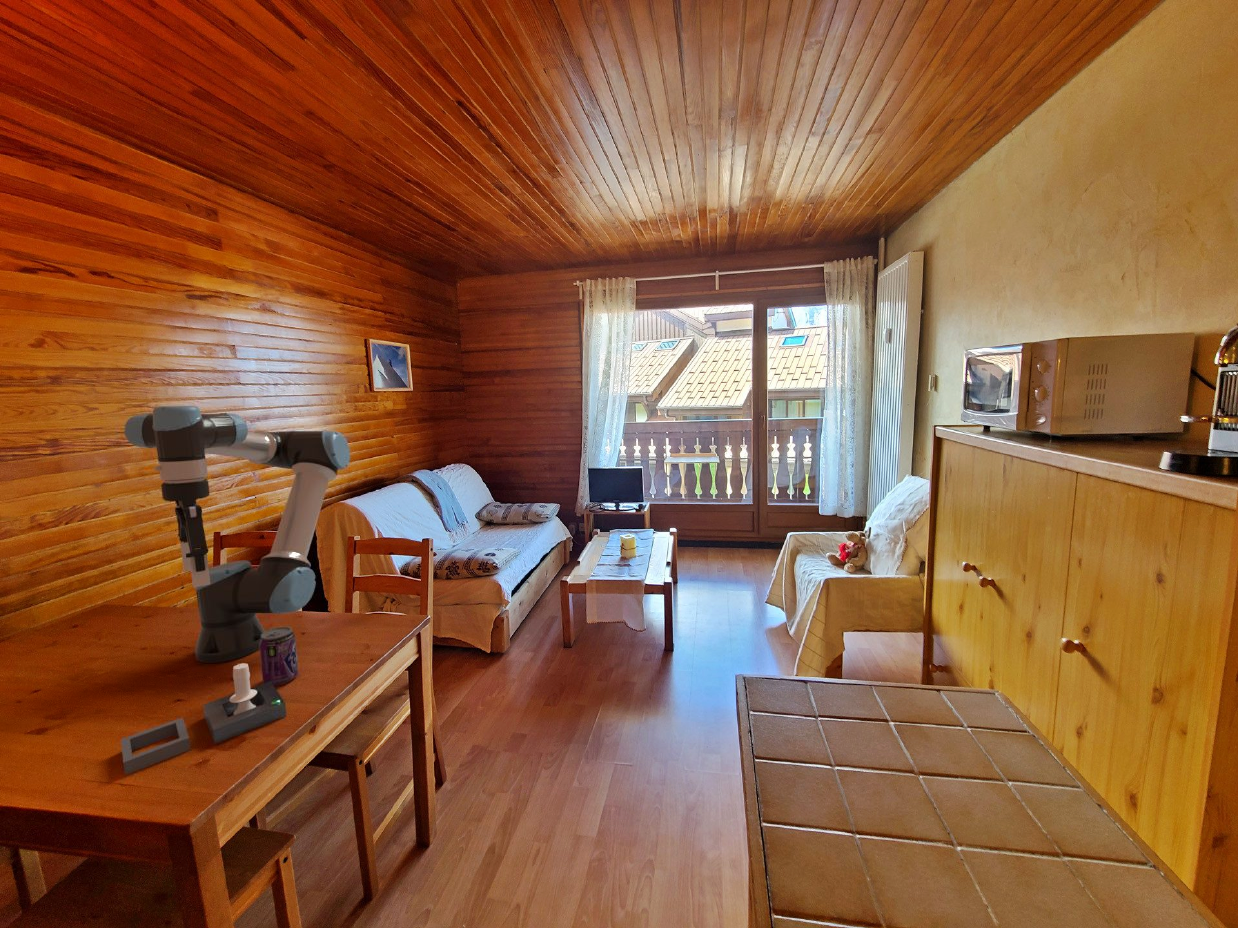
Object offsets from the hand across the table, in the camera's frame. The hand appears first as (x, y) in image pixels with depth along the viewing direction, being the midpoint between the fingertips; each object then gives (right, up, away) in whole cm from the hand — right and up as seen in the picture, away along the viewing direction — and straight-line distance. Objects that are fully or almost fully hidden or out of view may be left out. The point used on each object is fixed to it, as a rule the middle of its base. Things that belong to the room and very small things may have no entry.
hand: (196, 577), depth 108 cm
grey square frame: (+2, -31, -12) cm, 33 cm away
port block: (+12, -29, -1) cm, 31 cm away
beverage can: (+10, -27, +13) cm, 32 cm away
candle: (+12, -29, -1) cm, 32 cm away
